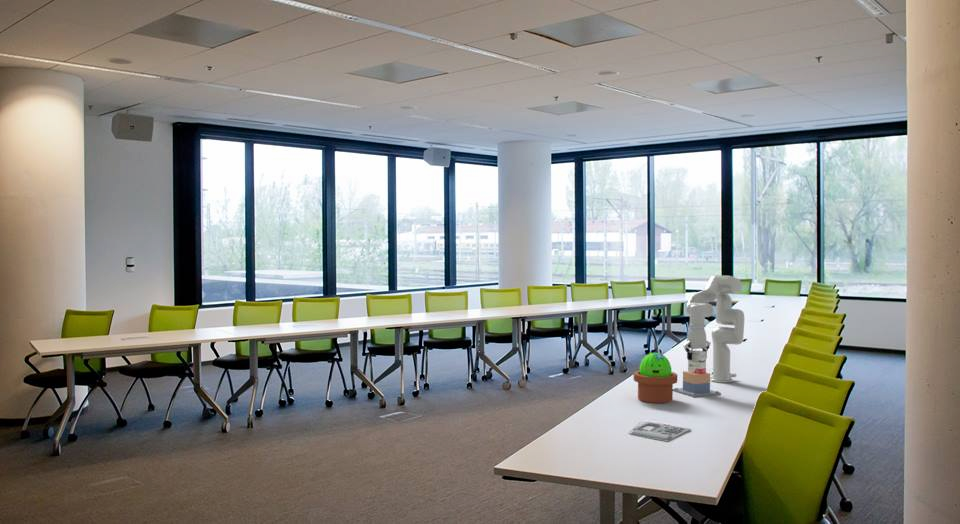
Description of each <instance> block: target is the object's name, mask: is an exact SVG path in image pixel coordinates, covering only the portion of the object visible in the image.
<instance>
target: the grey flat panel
mask: <svg viewBox="0 0 960 524" xmlns="http://www.w3.org/2000/svg"><path fill="white" fill-rule="evenodd" d="M646 426H652V427H654V428H652V429H650V430H649V429H644V427H645V428H646ZM632 430H633V431H631V432H630V434H629V436H630V435H631V436H636V437H641V438H645V439H649V440H653V441H654V440H655V441H660V442H665V443H668V442H670V441H672V440H674V439H677V438H679V437H681V436H682V435H685V434H687V433H689V432H691V431H692V429H691V428H687V427H682V426H681V427H680V426H676V425H668V424H660V423H654V422H650V421H648V422H645V423H642V424H640V425H637V426H636V427H633V429H632Z"/></svg>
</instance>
